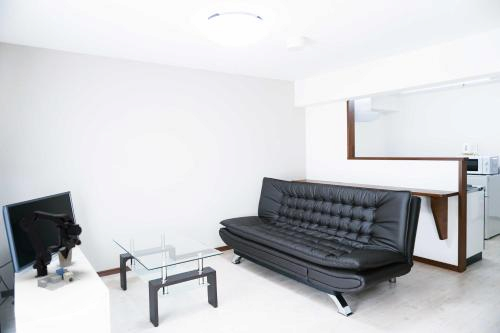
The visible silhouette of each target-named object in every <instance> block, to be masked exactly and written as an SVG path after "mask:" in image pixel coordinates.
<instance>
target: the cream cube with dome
mask: <svg viewBox="0 0 500 333" xmlns="http://www.w3.org/2000/svg"><path fill="white" fill-rule="evenodd" d="M74 277H75V275H74V272H72V271H70V272H67V273H65V274H63V275H62V279H64V281H65V282H70V281H73V280H74Z"/></svg>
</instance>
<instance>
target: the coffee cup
mask: <svg viewBox="0 0 500 333" xmlns="http://www.w3.org/2000/svg"><path fill="white" fill-rule="evenodd" d="M58 246H60V245H58ZM62 247H63V246H62ZM57 256H58V261H59V266H60V267H61V268H68V267H71V266H72V258H73V248H72V249H71V250H70V251H69V254H68V257H67V259H64V257H63V256H62V254H61V253H60V251H58V252H57Z"/></svg>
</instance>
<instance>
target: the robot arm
mask: <svg viewBox="0 0 500 333" xmlns="http://www.w3.org/2000/svg"><path fill="white" fill-rule="evenodd" d="M39 219H40V220H43V221H49V222H53V223H54V224H55V225H56V226H54V228H55V229H58V236H57V239H59V241H58V243H57V244H58V245H51V246H48V247H47V250H46V249H45V247H44V245H43V243H42V240H41V238H40V236H39V233H38V232H37V221H38V220H39ZM18 225H19V226H20V228H21V229H22V231H24V232H25V233H26V234H27V236H28V238H29V240H30V242H31V246H32V248H33V249H34V251H35V257H34V258H35V259H34V260H35V262H34V264H33V265H32V269H33V270H36V275H34V278H36V279H38V278H42V277H45V276H48V275H49V274H48V273H49V270H48V266H49V265H51V262H52V260H53V255H52V254H55V253H58V251H60V253H61V254H62V256H63V257H64V259H67V257H68V254H69V251H70V250H71V249H72V250H73V248H76V246H80V245H82V241H81V239H78V238H77V237H75V238H72V236H80V235H81V234H82V232H83V229H82V227H81V226H80V224H79V223H77V224H75V222H74V221H73V219H72V218H71V216H70V215H69V214H68V213H59V214H56V213H50V212H45V211H41V210H36V211H33V212H32V213H30V214H29V215H27V216H26V217H24V218H21V219H20V221H19V224H18ZM59 245H60V246H59ZM62 246H63V247H62Z"/></svg>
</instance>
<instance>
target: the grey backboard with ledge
mask: <svg viewBox="0 0 500 333" xmlns="http://www.w3.org/2000/svg"><path fill="white" fill-rule="evenodd" d="M67 272H71V271H70V270H69V269H68V268H64V267H61V268H57V269H55V272H54V273H51V274H48V275H47V276H44V277H42V276H41V277H38V278H36V279H37V286H38V287H40V288H42V289H45V290H48V291H51V292H53V291H56V290H57V289H60V288H62V287H65V286H67V285H71V284H73V283H75V282H77V281H79V280H81V278H78V277H75V276H74V280H73V281H70V282H65V281H64V279H62V275H63V274H65V273H67Z"/></svg>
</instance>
